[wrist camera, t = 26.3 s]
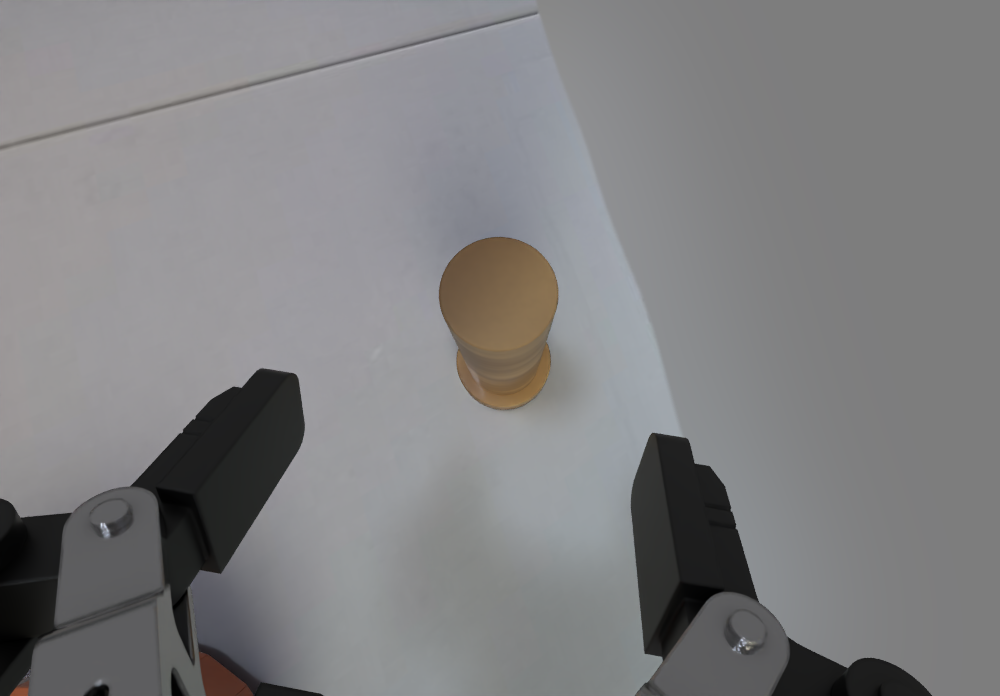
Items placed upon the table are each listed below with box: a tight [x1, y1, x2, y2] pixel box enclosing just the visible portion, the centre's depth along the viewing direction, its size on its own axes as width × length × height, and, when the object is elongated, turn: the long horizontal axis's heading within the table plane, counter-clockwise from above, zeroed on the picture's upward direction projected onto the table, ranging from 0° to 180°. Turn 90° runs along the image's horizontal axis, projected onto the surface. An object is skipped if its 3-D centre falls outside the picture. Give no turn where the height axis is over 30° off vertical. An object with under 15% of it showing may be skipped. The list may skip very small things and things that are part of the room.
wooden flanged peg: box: [439, 237, 558, 410], centre depth 22 cm, size 5×5×13 cm
